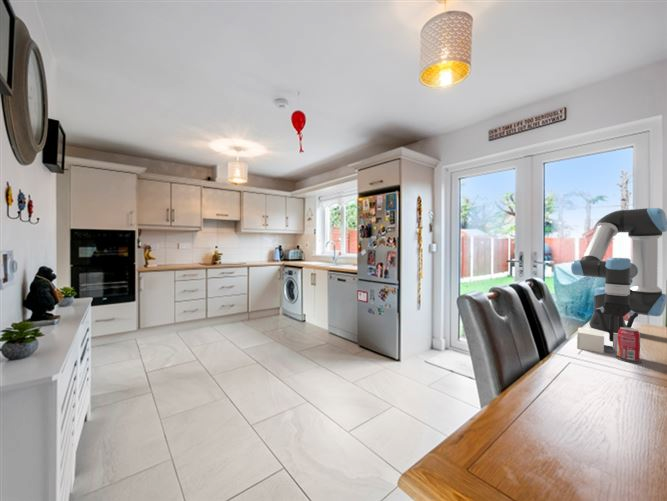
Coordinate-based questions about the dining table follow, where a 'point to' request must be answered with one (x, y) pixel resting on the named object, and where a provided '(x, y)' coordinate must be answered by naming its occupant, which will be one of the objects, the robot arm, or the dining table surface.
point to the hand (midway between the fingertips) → (615, 349)
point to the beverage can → (628, 344)
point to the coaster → (629, 360)
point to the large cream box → (590, 340)
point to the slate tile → (608, 349)
